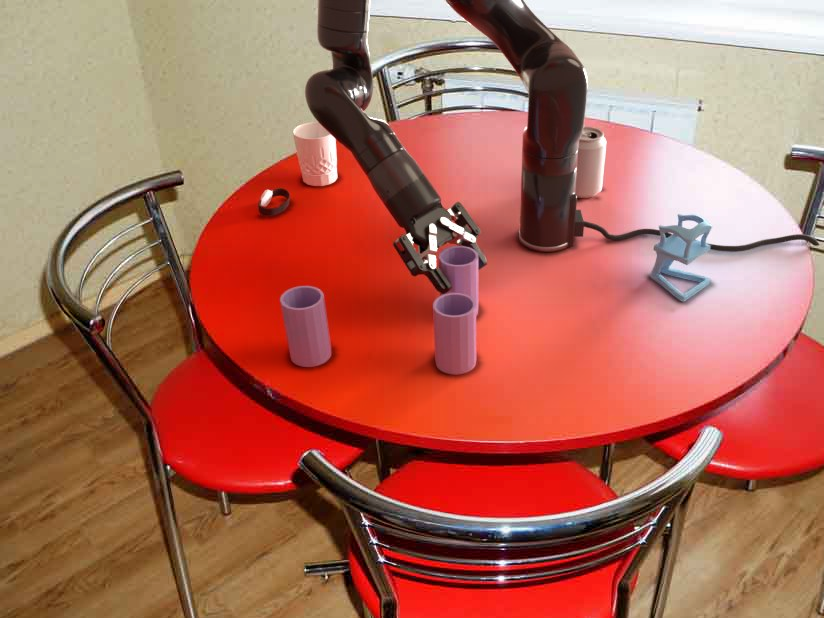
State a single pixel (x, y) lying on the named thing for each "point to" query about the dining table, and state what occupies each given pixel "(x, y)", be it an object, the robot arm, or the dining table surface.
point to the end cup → (306, 325)
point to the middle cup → (461, 271)
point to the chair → (681, 253)
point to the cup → (455, 333)
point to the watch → (267, 198)
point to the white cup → (316, 154)
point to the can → (590, 162)
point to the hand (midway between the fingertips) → (465, 279)
